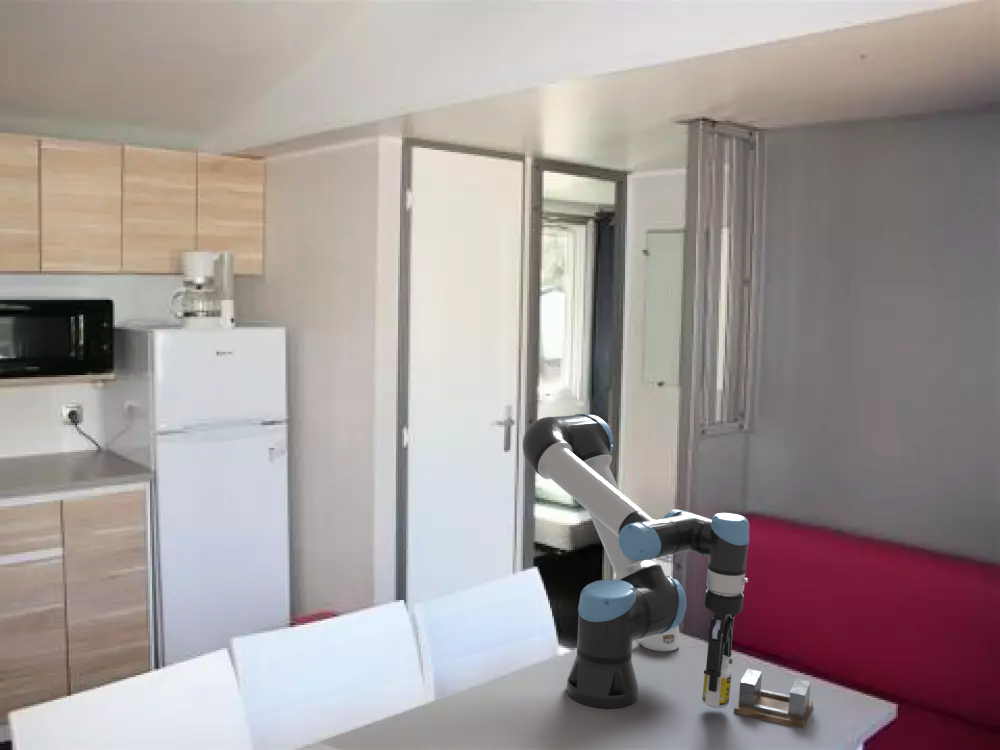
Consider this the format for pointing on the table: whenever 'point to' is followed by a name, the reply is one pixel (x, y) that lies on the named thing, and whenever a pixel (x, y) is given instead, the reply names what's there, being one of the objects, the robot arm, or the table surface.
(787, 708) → the mount board
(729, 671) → the supplement bottle
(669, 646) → the mug
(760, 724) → the table surface
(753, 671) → the grey rectangular frame
